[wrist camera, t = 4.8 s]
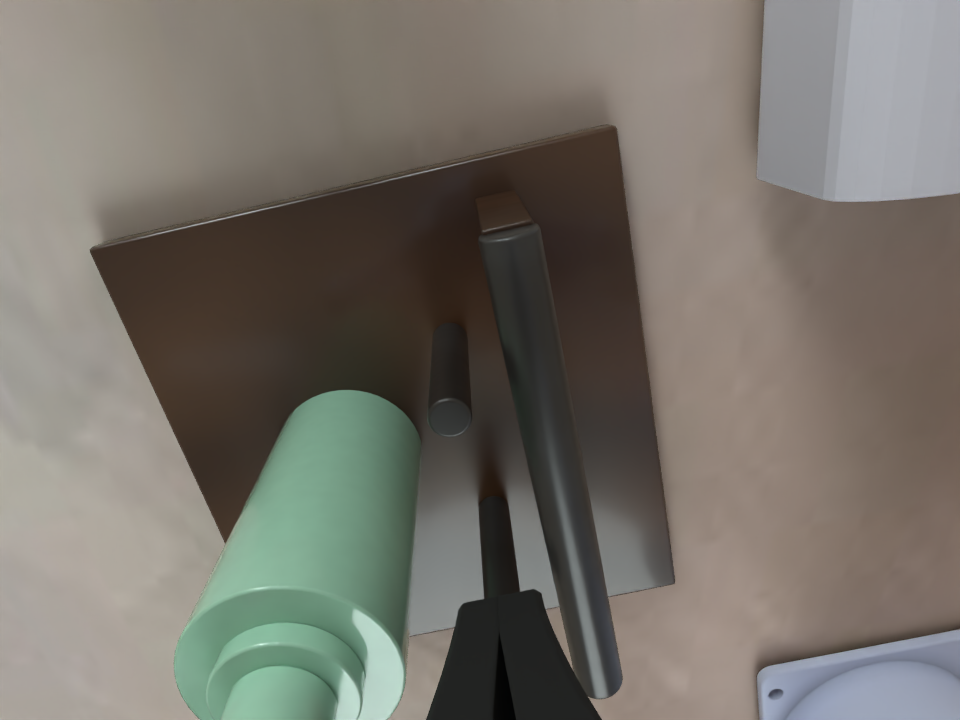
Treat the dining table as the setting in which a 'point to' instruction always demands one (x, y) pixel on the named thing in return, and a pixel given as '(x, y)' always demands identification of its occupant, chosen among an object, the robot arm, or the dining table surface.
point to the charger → (861, 98)
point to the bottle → (314, 574)
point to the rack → (434, 366)
